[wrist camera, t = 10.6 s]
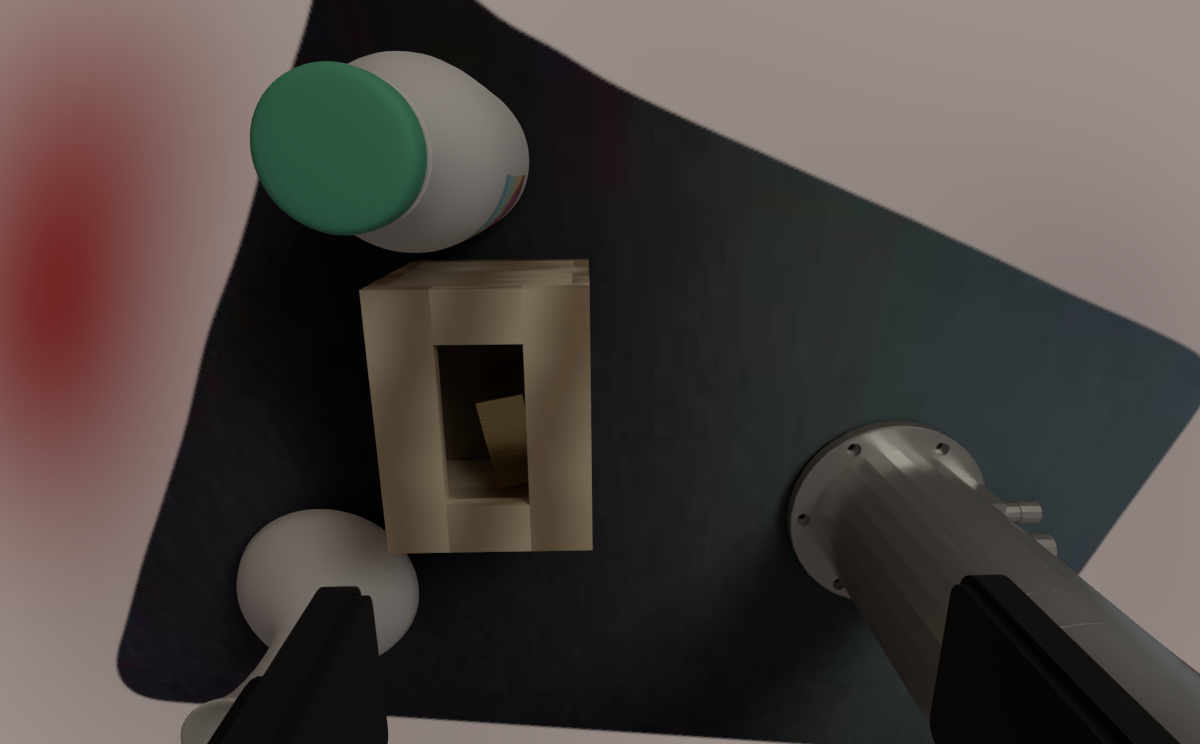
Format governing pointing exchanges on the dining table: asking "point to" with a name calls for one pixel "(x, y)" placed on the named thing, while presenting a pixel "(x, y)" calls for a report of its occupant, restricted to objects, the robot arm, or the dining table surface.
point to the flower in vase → (312, 588)
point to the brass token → (505, 426)
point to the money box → (451, 388)
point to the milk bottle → (389, 151)
